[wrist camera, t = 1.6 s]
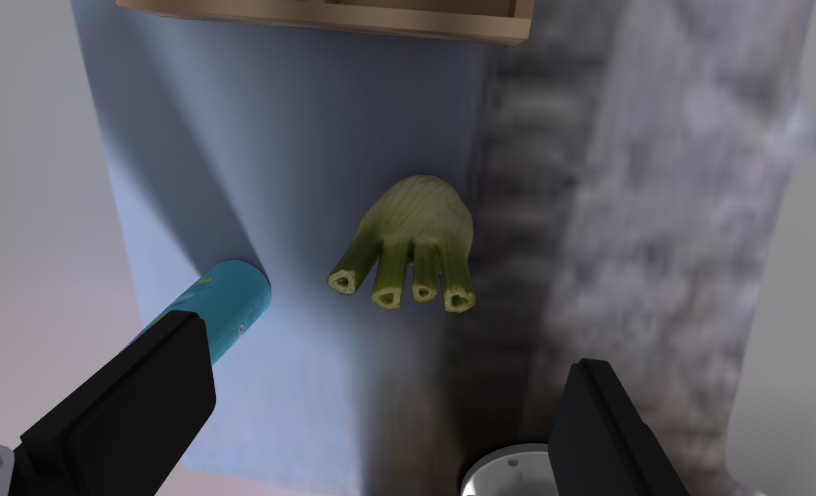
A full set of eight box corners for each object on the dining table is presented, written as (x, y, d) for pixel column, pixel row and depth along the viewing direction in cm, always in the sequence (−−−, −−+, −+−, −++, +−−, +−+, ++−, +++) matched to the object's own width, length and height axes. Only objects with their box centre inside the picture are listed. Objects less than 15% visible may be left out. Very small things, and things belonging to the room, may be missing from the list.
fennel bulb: (367, 210, 27) (309, 298, 16) (408, 148, 25) (375, 198, 14) (438, 257, 27) (431, 373, 16) (482, 200, 26) (508, 287, 15)
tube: (244, 235, 28) (-104, 489, 10) (295, 281, 29) (59, 585, 11) (186, 295, 31) (-175, 586, 13) (236, 336, 32) (-36, 658, 14)
